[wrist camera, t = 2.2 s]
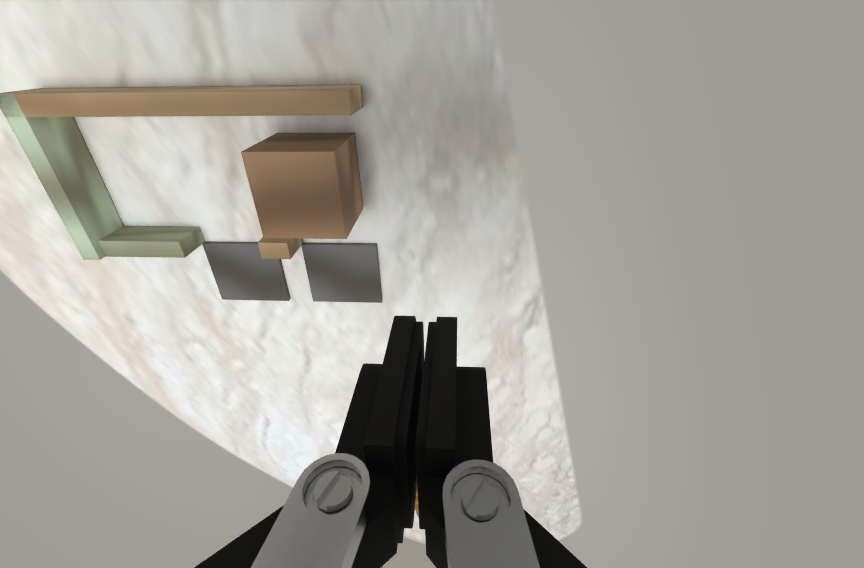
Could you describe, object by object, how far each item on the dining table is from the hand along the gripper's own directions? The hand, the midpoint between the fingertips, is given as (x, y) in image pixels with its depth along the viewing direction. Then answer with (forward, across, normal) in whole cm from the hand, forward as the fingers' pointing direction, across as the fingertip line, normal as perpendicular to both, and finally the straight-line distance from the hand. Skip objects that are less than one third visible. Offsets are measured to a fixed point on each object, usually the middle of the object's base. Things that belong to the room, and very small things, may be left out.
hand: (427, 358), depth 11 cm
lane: (+18, +15, +2) cm, 23 cm away
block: (+18, +8, 0) cm, 19 cm away
